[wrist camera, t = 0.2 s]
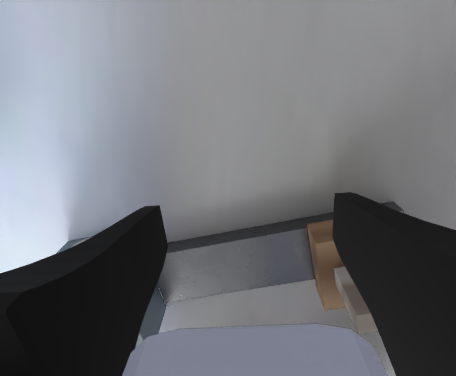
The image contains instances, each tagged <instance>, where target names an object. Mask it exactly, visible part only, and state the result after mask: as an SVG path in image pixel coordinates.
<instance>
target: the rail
mask: <svg viewBox="0 0 456 376" xmlns="http://www.w3.org/2000/svg"><path fill="white" fill-rule="evenodd" d="M382 205H384V206H387V207H389V208H391V209H394V210H396V211H399V212H401V213H404V210H402V209H401V208H400V207H399V206H398V205H397V204H395V203H394V202H388V203H382ZM333 215H334V213H329V214H323V215H318V216H312V217H307V218H302V219H296V220H291V221H285V222H280V223H275V224H269V225H264V226H258V227H253V228H248V229H242V230H237V231H231V232H226V233H221V234H215V235H210V236H204V237H199V238H194V239H188V240H183V241H178V242H172V243H167V244H168V249H167V254H166V259H165V263H164V267H163V269H162V272H161V275H160V277H159V280H158V286H159V288H160V290H161V293H162V295H163V298H164V300H165V302H166V303H167V302H173V301H180V300H186V299H192V298H198V297H205V296H211V295H217V294H224V293H230V292H236V291H242V290H249V289H255V288H261V287H268V286H274V285H280V284H286V283H293V282H299V281H305V280H312V279H315V275H314V268H313V261H312V254H311V247H310V241H309V234H308V227H307V224H312V223H318V222H323V221H329V220H333Z"/></svg>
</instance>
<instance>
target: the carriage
mask: <svg viewBox="0 0 456 376" xmlns="http://www.w3.org/2000/svg"><path fill="white" fill-rule="evenodd" d="M307 227H308V234H309V241H310V247H311V254H312V261H313V268H314V275H315V282H316V287H317V290H318V293H319V296H320V298H321V301H322V304H323V307H324V310H331V309H338V308H345V307H346V308H347V311H348V313H349V315H350V317H351V320H352V322H353V324H354V326H355V328H356V331H357V333H358V334H364V333H372V332H379V331H378V329H377V327H376V324H375V322H374V320H373V317H372V315H371V313H370V311H369V309H368V307H367V305H366V303H365V301H364V300H363V298H362V296H361V294H360V293H359V291H358V289H357V287H356V285H355V284H354V282H353V280H352V278H351V277H350V275H349V273H348V271H347V269H346V268H345V266H344V264H343V262H342V260H341V258H340V256H339V254H338V251H337V249H336V246H335V243H334V241H333V238H332V232H333V220H329V221H323V222H318V223H312V224H307Z"/></svg>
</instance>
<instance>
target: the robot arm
mask: <svg viewBox="0 0 456 376" xmlns="http://www.w3.org/2000/svg"><path fill="white" fill-rule="evenodd" d="M332 238H333V241H334V243H335V246H336V249H337V251H338V254H339V256H340V258H341V260H342V262H343V264H344V266H345V268H346V269H347V271H348V273H349V275H350V277H351V278H352V280H353V282H354V284H355V285H356V287H357V289H358V291H359V293H360V294H361V296H362V298H363V300H364V301H365V303H366V305H367V307H368V309H369V311H370V313H371V315H372V317H373V320H374V322H375V324H376V327H377V329H378V331H379V334H380V336H381V338H382V341H383V343H384V346H385V348H386V351H387V353H388V356H389V358H390V361H391V363H392V366H393V368H394V371H395V374H396V376H456V230H453V229H450V228H446V227H443V226H440V225H436V224H433V223H429V222H426V221H423V220H420V219H418V218H415V217H412V216H409V215H407V214H404V213H401V212H399V211H396V210H394V209H391V208H389V207H387V206H384V205H382V204H380V203H377V202H375V201H372V200H370V199H368V198H365V197H363V196H360V195H358V194H355V193H351V192H349V193H335V199H334V215H333V232H332ZM167 249H168V244H167V239H166V234H165V229H164V225H163V220H162V215H161V210H160V205H159V206H145V207H143V208H141V209H139V210H137V211H135V212H133V213H132V214H130V215H128V216H127V217H125V218H123V219H122V220H120V221H119V222H117V223H115V224H114V225H112V226H110V227H109V228H107V229H105V230H103V231H102V232H100V233H98V234H96V235H95V236H93V237H91V238H89V239H87V240H85V241H83V242H81V243H79V244H77V245H75V246H73V247H71V248H69V249H66V250H64V251H62V252H60V253H57V254H55V255H52V256H50V257H47V258H44V259H42V260H39V261H37V262H34V263H31V264H29V265H26V266H23V267H20V268H16V269H13V270H10V271H7V272H4V273H0V376H387V374H386V372H385V370H384V368H383V366H382V364H381V361H380V359H379V357H378V355H377V353H376V351H375V349H374V347H373V345H372V344H370V343H369V342H368V341H366V340H365V339H363V338H362V337H361V336H359V335H358V334H357V333H355V332H354V331H352V330H351V329H347V328H342V327H336V326H329V325H323V324H316V323H315V324H289V325H263V326H238V327H212V328H186V329H176V330H172V331H168V332H164V333H160V334H156V335H152V336H149V337H147V338H146V339H145V340H144V341H143V342H142V343H141V344H140V345H139V346H138V347H137V348H136V349H135V347H136V343H137V340H138V336H139V332H140V329H141V325H142V322H143V319H144V316H145V313H146V310H147V308H148V305H149V303H150V300H151V298H152V295H153V293H154V290H155V288H156V285H157V283H158V280H159V277H160V275H161V272H162V269H163V267H164V263H165V259H166V254H167Z"/></svg>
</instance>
